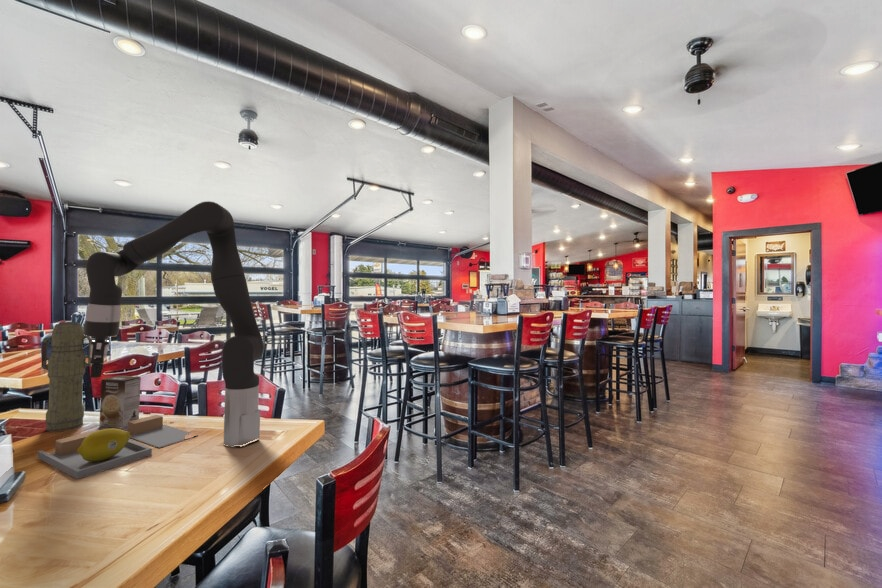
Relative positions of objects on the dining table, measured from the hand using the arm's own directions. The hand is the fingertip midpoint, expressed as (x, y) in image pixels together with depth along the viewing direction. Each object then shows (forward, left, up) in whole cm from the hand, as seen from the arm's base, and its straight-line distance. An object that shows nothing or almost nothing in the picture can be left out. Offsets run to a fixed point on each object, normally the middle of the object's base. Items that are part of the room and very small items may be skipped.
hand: (96, 373), depth 106 cm
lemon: (-14, +3, -21) cm, 25 cm away
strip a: (-7, -14, -21) cm, 26 cm away
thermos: (+28, -3, -22) cm, 36 cm away
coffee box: (+16, -13, -22) cm, 30 cm away
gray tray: (-9, +3, -21) cm, 23 cm away
